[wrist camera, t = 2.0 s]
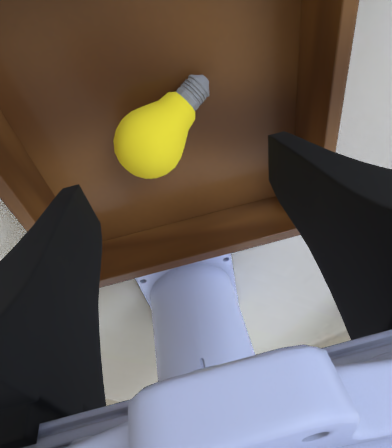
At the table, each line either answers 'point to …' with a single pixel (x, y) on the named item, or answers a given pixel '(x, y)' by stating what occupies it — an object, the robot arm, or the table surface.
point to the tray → (153, 91)
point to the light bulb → (159, 130)
